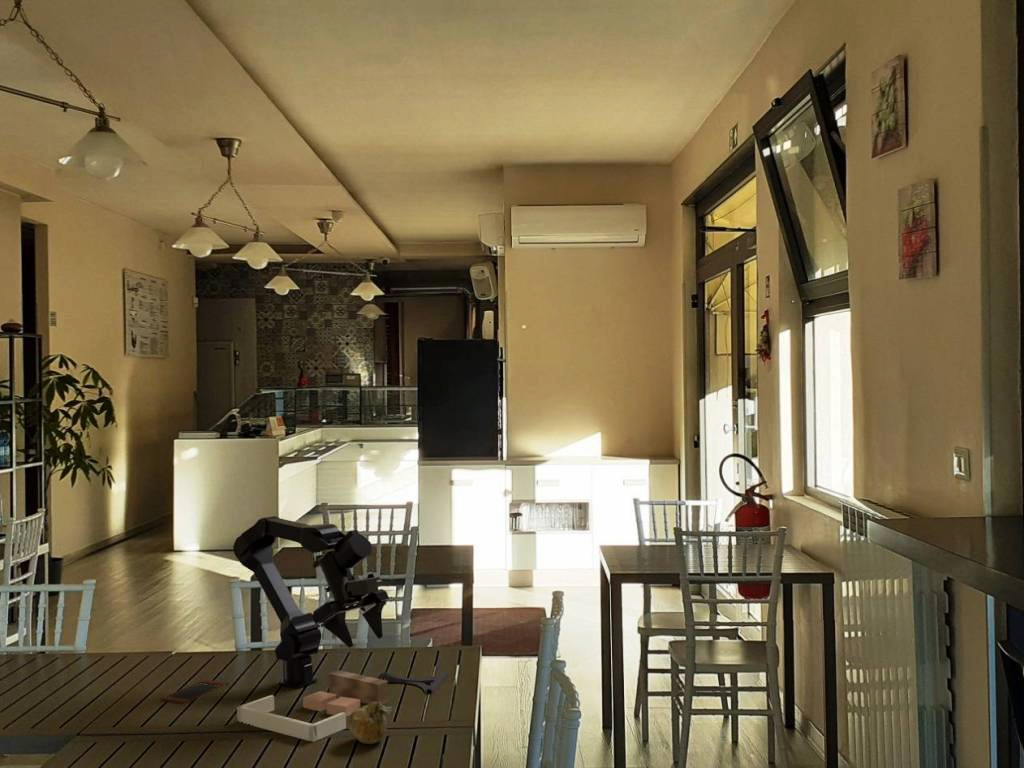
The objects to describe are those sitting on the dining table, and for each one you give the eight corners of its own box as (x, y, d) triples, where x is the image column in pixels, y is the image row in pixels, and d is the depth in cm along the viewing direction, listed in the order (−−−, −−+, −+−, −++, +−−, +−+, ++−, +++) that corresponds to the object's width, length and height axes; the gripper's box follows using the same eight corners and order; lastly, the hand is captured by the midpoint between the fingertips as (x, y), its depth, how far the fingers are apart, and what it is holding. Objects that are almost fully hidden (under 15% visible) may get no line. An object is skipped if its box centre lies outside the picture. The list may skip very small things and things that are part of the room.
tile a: (303, 709, 215) (303, 697, 215) (320, 702, 220) (319, 691, 220) (320, 713, 213) (319, 701, 213) (336, 706, 217) (336, 694, 217)
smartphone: (159, 698, 222) (204, 679, 236) (159, 702, 222) (204, 683, 236) (184, 701, 219) (229, 682, 233) (185, 706, 219) (229, 686, 233)
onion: (378, 731, 200) (377, 691, 200) (395, 743, 193) (394, 701, 193) (342, 739, 196) (341, 698, 196) (359, 752, 189) (358, 709, 189)
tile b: (326, 715, 211) (326, 703, 211) (341, 708, 215) (340, 696, 215) (346, 718, 209) (346, 706, 209) (360, 711, 213) (360, 699, 213)
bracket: (388, 675, 240) (387, 663, 240) (448, 677, 237) (448, 665, 237) (368, 694, 226) (368, 682, 226) (432, 696, 223) (432, 684, 223)
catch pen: (237, 721, 207) (237, 707, 207) (271, 709, 215) (270, 695, 215) (313, 741, 195) (312, 726, 195) (346, 728, 202) (345, 713, 202)
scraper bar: (329, 695, 224) (328, 673, 224) (338, 692, 226) (338, 670, 226) (378, 707, 215) (377, 684, 215) (388, 703, 217) (387, 680, 217)
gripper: (330, 567, 213) (359, 636, 208) (390, 555, 228) (418, 618, 223) (299, 590, 218) (326, 657, 213) (359, 576, 233) (386, 639, 228)
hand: (366, 642), depth 219 cm, fingers open, 9 cm apart
